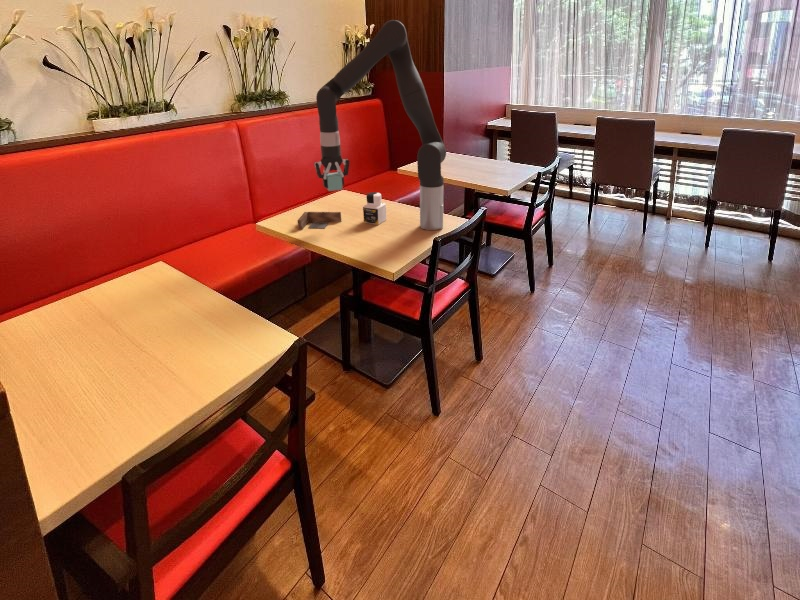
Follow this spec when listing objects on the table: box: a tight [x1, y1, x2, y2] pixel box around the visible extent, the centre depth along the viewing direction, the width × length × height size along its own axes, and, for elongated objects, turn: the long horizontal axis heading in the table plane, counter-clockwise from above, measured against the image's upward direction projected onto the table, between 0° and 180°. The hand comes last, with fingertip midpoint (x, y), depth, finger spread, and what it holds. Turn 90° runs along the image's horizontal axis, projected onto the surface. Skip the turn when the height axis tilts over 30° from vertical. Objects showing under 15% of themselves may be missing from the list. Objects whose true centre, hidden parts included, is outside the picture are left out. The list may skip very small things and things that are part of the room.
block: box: [326, 171, 344, 192], centre depth 192 cm, size 6×6×6 cm
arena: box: [296, 211, 342, 231], centre depth 201 cm, size 16×11×4 cm
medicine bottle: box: [362, 191, 387, 226], centre depth 201 cm, size 7×7×12 cm
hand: (333, 186), depth 193 cm, fingers closed on block, 5 cm apart
